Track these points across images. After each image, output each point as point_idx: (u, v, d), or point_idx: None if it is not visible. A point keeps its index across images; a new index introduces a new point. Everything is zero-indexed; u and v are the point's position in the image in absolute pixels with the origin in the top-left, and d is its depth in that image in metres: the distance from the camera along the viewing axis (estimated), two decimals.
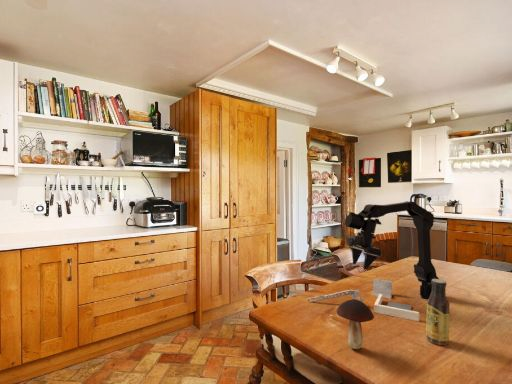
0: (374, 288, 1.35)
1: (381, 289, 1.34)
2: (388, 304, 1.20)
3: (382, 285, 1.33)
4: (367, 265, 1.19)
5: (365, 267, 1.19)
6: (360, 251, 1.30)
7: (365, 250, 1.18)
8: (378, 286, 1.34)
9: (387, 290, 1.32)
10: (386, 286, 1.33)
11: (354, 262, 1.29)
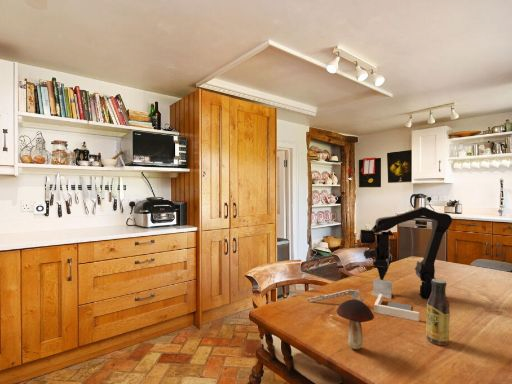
0: (374, 288, 1.35)
1: (381, 289, 1.34)
2: (388, 304, 1.20)
3: (382, 285, 1.33)
4: (382, 276, 1.30)
5: (381, 278, 1.30)
6: (388, 262, 1.38)
7: None
8: (378, 286, 1.34)
9: (387, 290, 1.32)
10: (386, 286, 1.33)
11: None
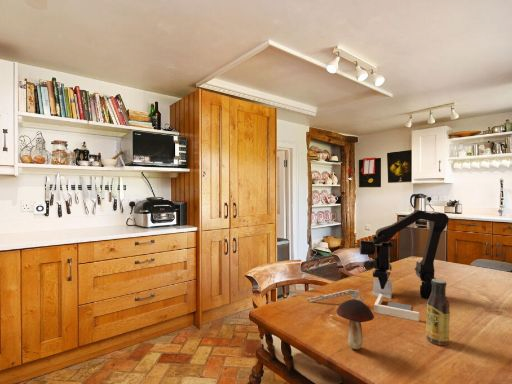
0: (374, 288, 1.35)
1: (381, 289, 1.34)
2: (388, 304, 1.20)
3: None
4: (382, 285, 1.33)
5: (381, 287, 1.33)
6: (387, 275, 1.35)
7: None
8: (378, 286, 1.34)
9: (387, 290, 1.32)
10: (386, 286, 1.33)
11: None
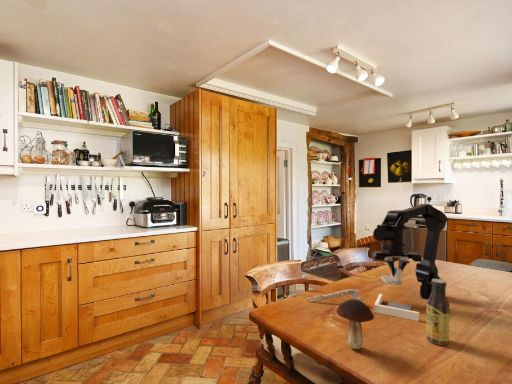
0: (391, 274, 1.25)
1: (393, 276, 1.22)
2: (388, 304, 1.20)
3: None
4: (391, 271, 1.22)
5: None
6: (401, 262, 1.19)
7: None
8: None
9: (395, 278, 1.20)
10: (394, 273, 1.20)
11: None
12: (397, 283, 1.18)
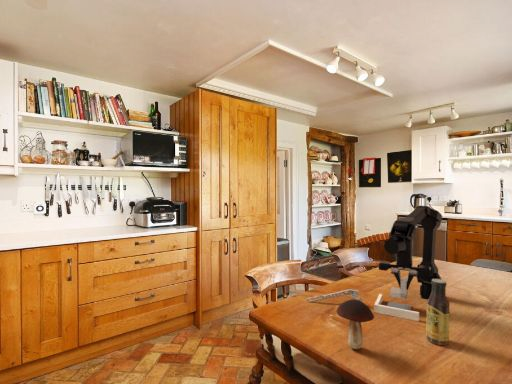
0: None
1: None
2: (388, 304, 1.20)
3: None
4: (398, 283, 1.16)
5: None
6: (408, 275, 1.13)
7: None
8: None
9: None
10: None
11: None
12: (401, 296, 1.12)
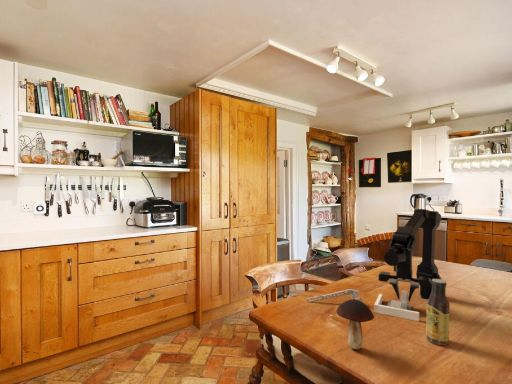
0: None
1: None
2: (388, 304, 1.20)
3: None
4: None
5: None
6: (410, 287, 1.13)
7: None
8: None
9: (401, 304, 1.14)
10: None
11: None
12: None
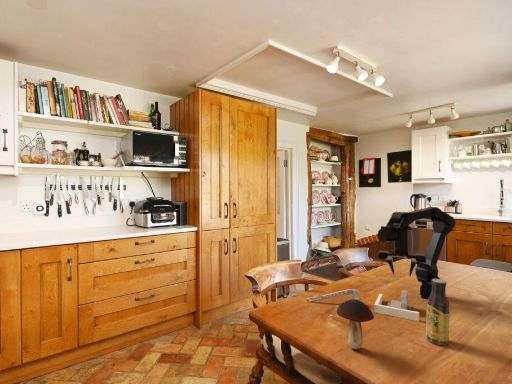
0: None
1: None
2: (388, 304, 1.20)
3: None
4: None
5: None
6: None
7: None
8: None
9: (401, 304, 1.14)
10: None
11: (409, 274, 1.24)
12: None
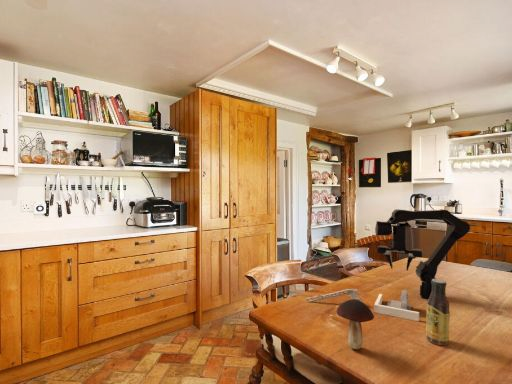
0: None
1: None
2: (388, 304, 1.20)
3: None
4: (390, 264, 1.34)
5: None
6: (408, 258, 1.29)
7: None
8: None
9: (401, 304, 1.14)
10: None
11: None
12: None
